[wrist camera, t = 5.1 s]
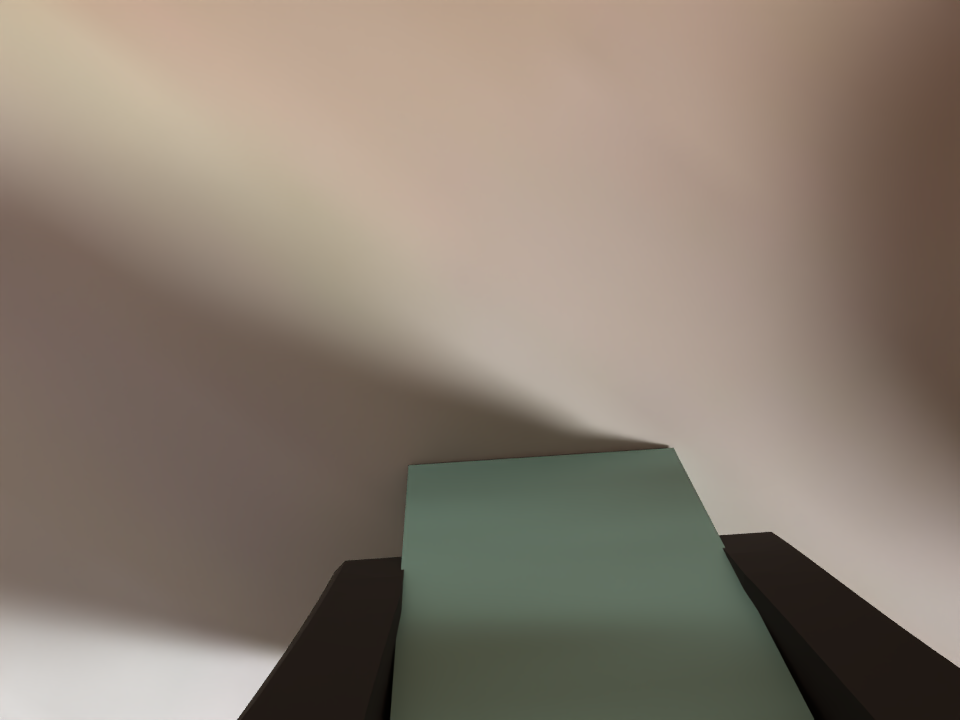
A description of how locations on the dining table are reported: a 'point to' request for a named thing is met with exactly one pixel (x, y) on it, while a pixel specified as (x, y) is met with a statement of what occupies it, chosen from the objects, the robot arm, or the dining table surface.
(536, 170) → the dining table surface
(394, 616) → the robot arm
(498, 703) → the tethered block
